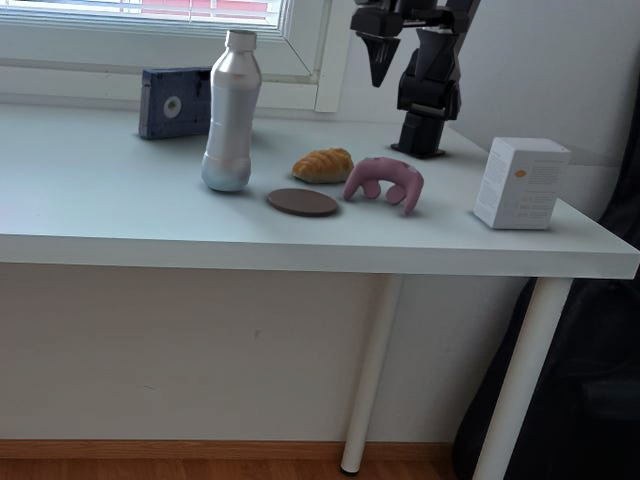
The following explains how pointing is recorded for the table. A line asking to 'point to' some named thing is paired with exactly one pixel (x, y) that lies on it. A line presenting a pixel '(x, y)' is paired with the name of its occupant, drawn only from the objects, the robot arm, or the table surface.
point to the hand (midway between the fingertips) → (397, 84)
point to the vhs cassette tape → (175, 102)
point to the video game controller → (386, 170)
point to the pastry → (324, 166)
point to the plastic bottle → (232, 113)
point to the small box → (521, 183)
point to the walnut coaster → (302, 202)
